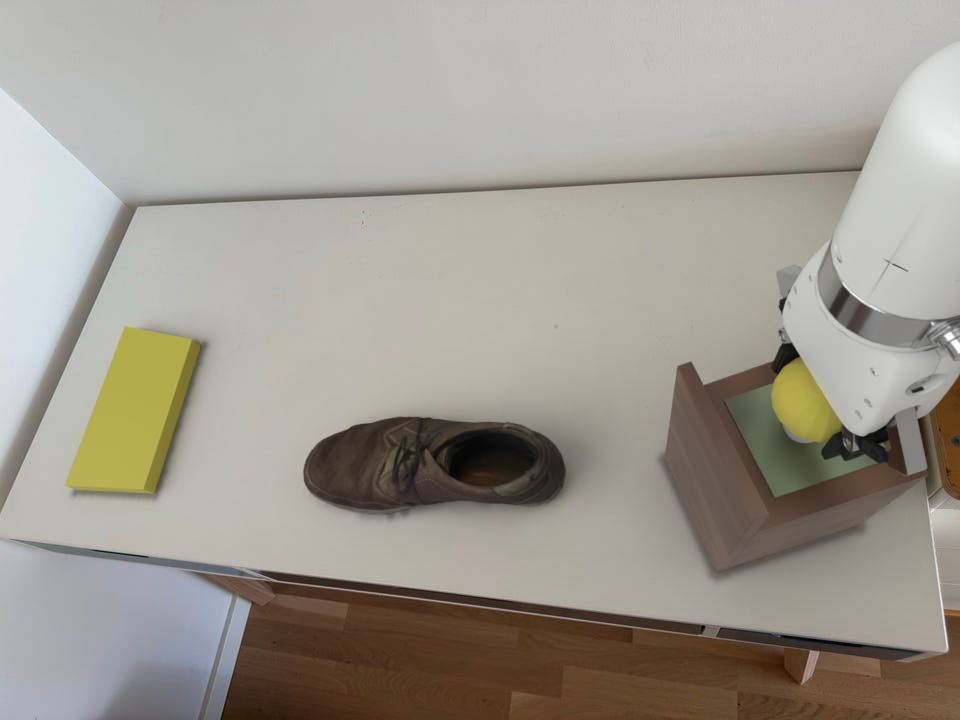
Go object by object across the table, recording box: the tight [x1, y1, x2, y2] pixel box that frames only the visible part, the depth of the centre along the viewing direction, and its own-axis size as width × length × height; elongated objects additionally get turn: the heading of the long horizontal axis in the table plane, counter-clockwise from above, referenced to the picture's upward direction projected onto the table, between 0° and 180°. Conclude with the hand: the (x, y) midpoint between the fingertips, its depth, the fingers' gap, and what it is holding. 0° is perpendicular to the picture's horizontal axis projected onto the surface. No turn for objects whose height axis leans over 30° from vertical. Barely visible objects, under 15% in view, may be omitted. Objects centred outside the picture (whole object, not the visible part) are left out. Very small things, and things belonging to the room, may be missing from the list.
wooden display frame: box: [664, 360, 930, 573], centre depth 59 cm, size 15×13×24 cm
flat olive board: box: [64, 325, 202, 495], centre depth 90 cm, size 12×2×24 cm
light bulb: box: [771, 357, 842, 443], centre depth 49 cm, size 7×7×10 cm
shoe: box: [302, 416, 566, 515], centre depth 74 cm, size 12×31×10 cm, turn 80°
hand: (816, 405), depth 49 cm, fingers closed on light bulb, 6 cm apart
